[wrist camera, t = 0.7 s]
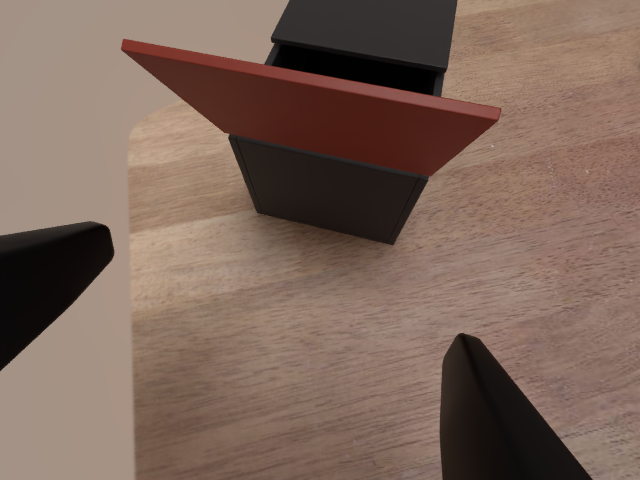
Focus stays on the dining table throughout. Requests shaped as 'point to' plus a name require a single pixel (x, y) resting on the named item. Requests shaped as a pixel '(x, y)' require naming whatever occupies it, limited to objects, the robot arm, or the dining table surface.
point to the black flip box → (361, 66)
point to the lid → (319, 109)
